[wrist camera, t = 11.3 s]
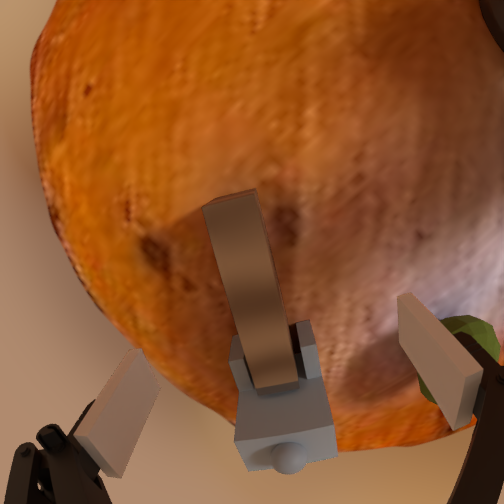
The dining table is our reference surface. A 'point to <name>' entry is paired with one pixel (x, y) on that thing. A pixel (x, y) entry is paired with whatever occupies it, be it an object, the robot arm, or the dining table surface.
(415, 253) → the dining table surface
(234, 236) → the rail
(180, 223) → the dining table surface
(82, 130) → the dining table surface
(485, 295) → the dining table surface
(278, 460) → the grey two-prong block
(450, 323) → the apple
